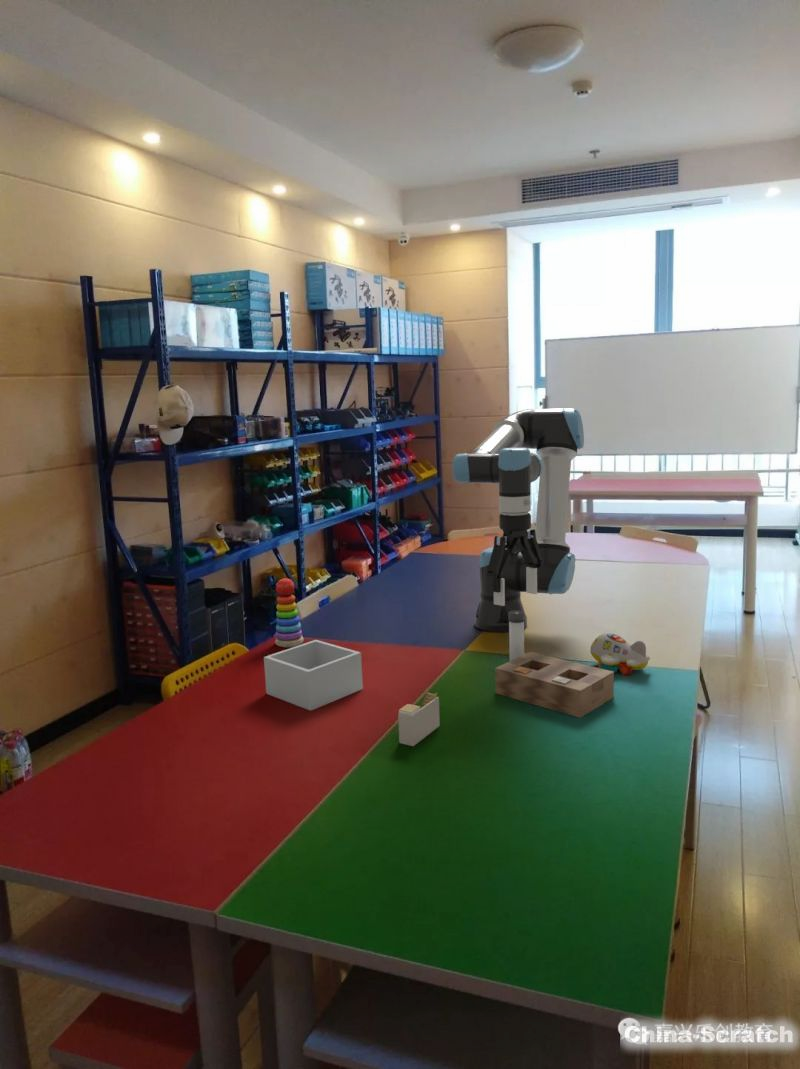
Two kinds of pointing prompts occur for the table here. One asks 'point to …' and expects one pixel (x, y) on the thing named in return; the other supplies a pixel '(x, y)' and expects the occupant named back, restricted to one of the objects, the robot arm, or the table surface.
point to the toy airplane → (619, 654)
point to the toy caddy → (313, 674)
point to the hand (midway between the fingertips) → (515, 599)
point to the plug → (516, 634)
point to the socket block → (555, 683)
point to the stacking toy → (287, 616)
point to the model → (418, 720)
